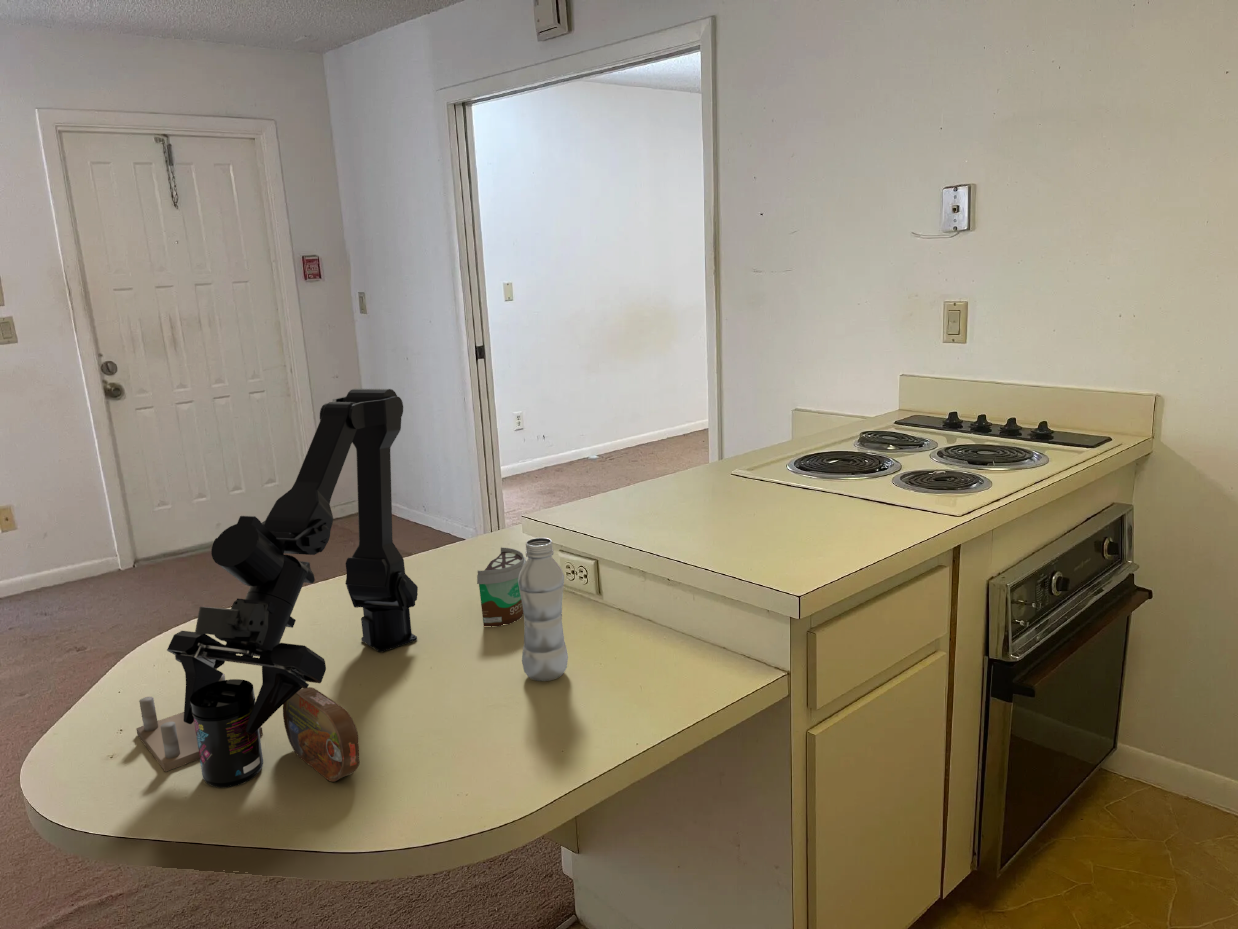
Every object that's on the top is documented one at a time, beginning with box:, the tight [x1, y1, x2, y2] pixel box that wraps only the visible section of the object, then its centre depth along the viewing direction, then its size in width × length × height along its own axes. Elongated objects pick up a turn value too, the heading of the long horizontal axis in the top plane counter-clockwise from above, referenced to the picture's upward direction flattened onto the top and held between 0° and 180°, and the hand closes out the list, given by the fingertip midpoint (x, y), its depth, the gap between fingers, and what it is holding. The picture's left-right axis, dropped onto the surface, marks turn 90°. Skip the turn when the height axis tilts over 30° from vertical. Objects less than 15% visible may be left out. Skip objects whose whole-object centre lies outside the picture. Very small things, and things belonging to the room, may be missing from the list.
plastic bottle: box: [518, 537, 569, 682], centre depth 124 cm, size 6×7×20 cm
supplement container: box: [190, 678, 264, 789], centre depth 104 cm, size 7×7×10 cm
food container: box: [476, 546, 527, 628], centre depth 146 cm, size 12×6×10 cm, turn 168°
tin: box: [282, 686, 361, 782], centre depth 105 cm, size 15×3×8 cm, turn 45°
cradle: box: [135, 673, 264, 773], centre depth 113 cm, size 12×12×5 cm
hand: (217, 728), depth 102 cm, fingers open, 8 cm apart
